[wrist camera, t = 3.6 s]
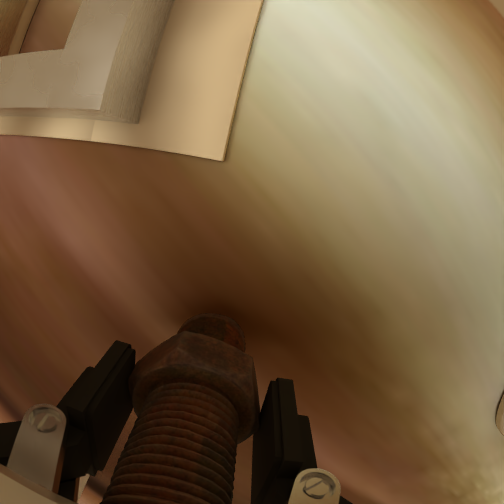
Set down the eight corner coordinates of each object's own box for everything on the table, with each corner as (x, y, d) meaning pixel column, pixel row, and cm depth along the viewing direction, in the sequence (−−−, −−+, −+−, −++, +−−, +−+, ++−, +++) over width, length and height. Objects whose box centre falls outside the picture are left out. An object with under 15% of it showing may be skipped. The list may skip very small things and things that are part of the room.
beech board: (282, -64, 11) (284, -74, 10) (223, 161, 14) (222, 160, 13) (8, -39, 10) (2, -44, 9) (-52, 133, 13) (-62, 133, 12)
